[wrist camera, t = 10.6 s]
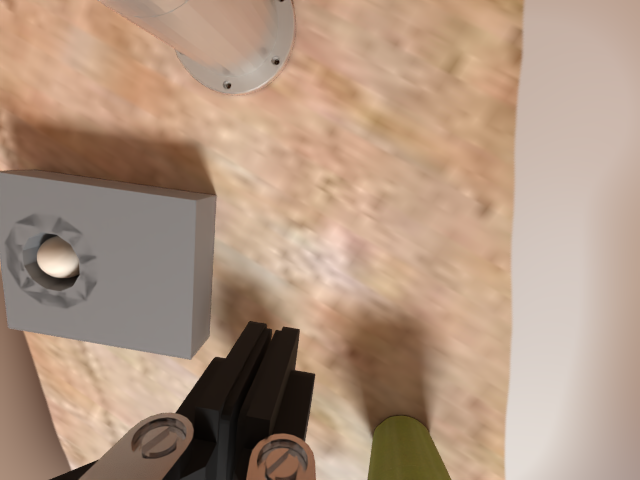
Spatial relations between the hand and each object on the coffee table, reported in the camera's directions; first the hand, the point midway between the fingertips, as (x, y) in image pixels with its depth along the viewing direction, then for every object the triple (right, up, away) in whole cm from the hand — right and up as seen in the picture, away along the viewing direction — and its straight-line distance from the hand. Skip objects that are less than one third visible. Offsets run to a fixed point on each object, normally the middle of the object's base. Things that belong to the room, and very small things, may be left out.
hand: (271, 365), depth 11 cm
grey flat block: (-22, +2, +30) cm, 37 cm away
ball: (-28, +2, +28) cm, 39 cm away
